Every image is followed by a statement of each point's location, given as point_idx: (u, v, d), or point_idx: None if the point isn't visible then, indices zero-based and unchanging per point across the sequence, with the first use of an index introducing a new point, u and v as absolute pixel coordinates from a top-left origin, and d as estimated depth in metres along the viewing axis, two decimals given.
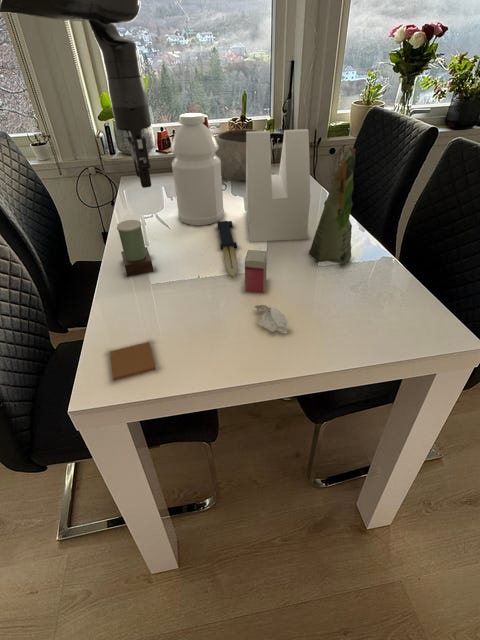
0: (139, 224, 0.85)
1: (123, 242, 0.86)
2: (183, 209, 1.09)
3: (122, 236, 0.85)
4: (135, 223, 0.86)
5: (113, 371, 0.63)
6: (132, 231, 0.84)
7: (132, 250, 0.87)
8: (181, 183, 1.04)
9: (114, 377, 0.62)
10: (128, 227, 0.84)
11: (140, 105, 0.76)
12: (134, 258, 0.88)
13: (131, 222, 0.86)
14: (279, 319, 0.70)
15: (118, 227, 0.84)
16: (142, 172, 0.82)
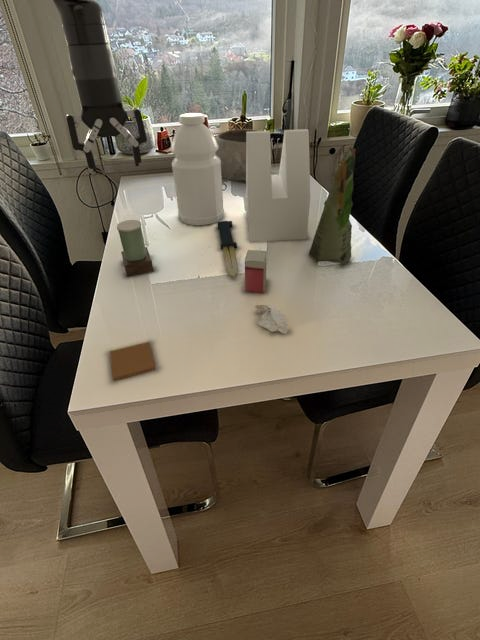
0: (139, 224, 0.85)
1: (123, 242, 0.86)
2: (183, 209, 1.09)
3: (122, 236, 0.85)
4: (135, 223, 0.86)
5: (113, 371, 0.63)
6: (132, 231, 0.84)
7: (132, 250, 0.87)
8: (181, 183, 1.04)
9: (114, 377, 0.62)
10: (128, 227, 0.84)
11: (76, 79, 0.66)
12: (134, 258, 0.88)
13: (131, 222, 0.86)
14: (279, 319, 0.70)
15: (118, 227, 0.84)
16: None
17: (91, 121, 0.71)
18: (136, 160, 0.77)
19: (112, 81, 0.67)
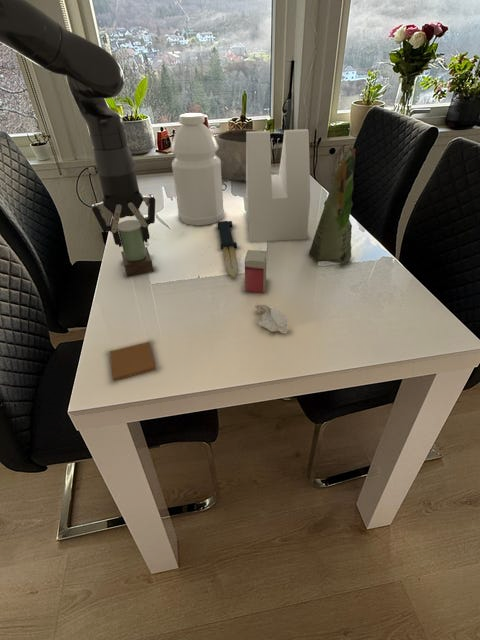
0: (139, 224, 0.85)
1: (123, 242, 0.86)
2: (183, 209, 1.09)
3: (122, 236, 0.85)
4: (135, 223, 0.86)
5: (113, 371, 0.63)
6: (132, 231, 0.84)
7: (132, 250, 0.87)
8: (181, 183, 1.04)
9: (114, 377, 0.62)
10: (128, 227, 0.84)
11: (100, 175, 0.76)
12: (134, 258, 0.88)
13: (131, 222, 0.86)
14: (279, 319, 0.70)
15: (118, 227, 0.84)
16: None
17: (112, 206, 0.81)
18: (145, 237, 0.87)
19: (131, 175, 0.77)
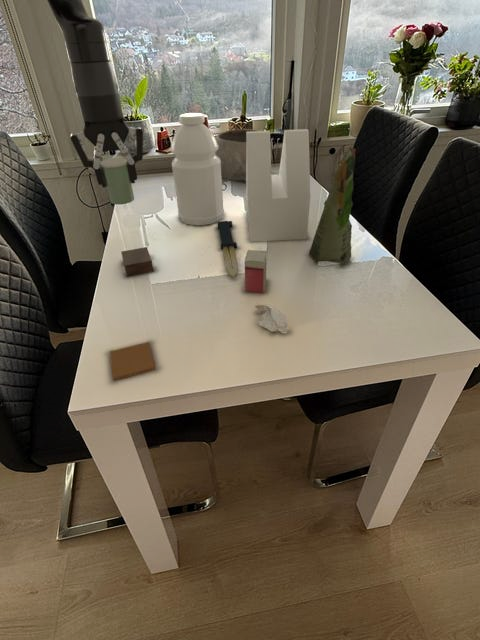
0: (125, 161, 0.76)
1: (107, 181, 0.77)
2: (183, 209, 1.09)
3: (106, 174, 0.76)
4: (121, 160, 0.77)
5: (113, 371, 0.63)
6: (117, 167, 0.75)
7: (117, 191, 0.77)
8: (181, 183, 1.04)
9: (114, 377, 0.62)
10: (113, 163, 0.75)
11: (79, 95, 0.67)
12: (119, 201, 0.79)
13: (116, 160, 0.77)
14: (279, 319, 0.70)
15: (101, 163, 0.75)
16: None
17: (93, 136, 0.72)
18: (132, 177, 0.78)
19: (114, 97, 0.68)
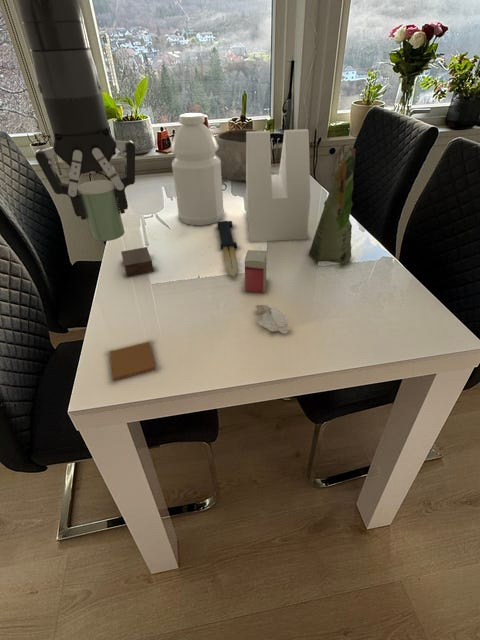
0: (111, 185, 0.57)
1: (88, 212, 0.57)
2: (183, 209, 1.09)
3: (86, 203, 0.56)
4: (106, 184, 0.58)
5: (113, 371, 0.63)
6: (100, 194, 0.56)
7: (101, 224, 0.58)
8: (181, 183, 1.04)
9: (114, 377, 0.62)
10: (94, 189, 0.56)
11: (45, 97, 0.47)
12: (104, 237, 0.59)
13: (100, 183, 0.58)
14: (279, 319, 0.70)
15: (79, 188, 0.56)
16: None
17: (67, 153, 0.52)
18: (121, 206, 0.59)
19: (95, 100, 0.49)
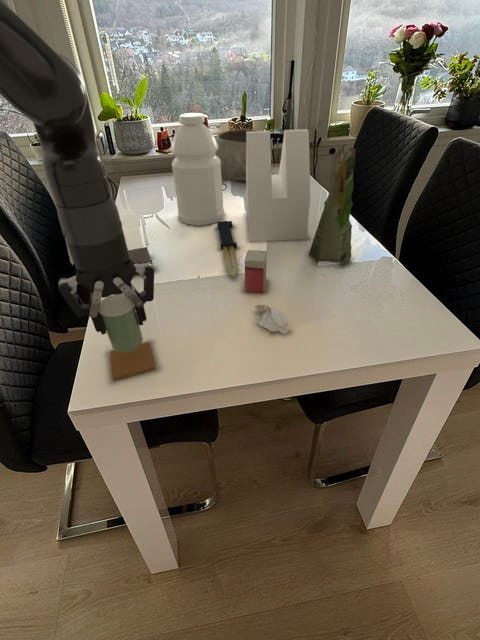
0: (131, 303, 0.58)
1: (108, 329, 0.59)
2: (183, 209, 1.09)
3: (106, 322, 0.58)
4: (125, 301, 0.59)
5: (113, 371, 0.63)
6: (120, 315, 0.57)
7: (121, 339, 0.59)
8: (181, 183, 1.04)
9: (114, 377, 0.62)
10: (115, 309, 0.57)
11: (69, 242, 0.49)
12: (124, 349, 0.61)
13: (119, 300, 0.59)
14: (279, 319, 0.70)
15: (100, 309, 0.57)
16: None
17: (89, 283, 0.54)
18: (140, 320, 0.60)
19: (116, 241, 0.50)
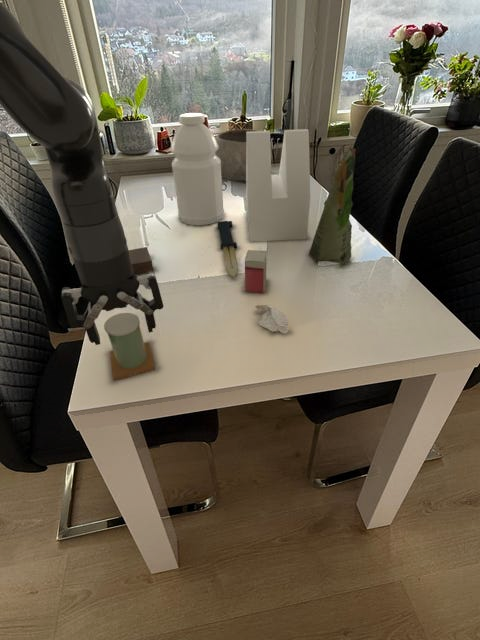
0: (136, 322, 0.61)
1: (114, 347, 0.61)
2: (183, 209, 1.09)
3: (113, 340, 0.60)
4: (131, 320, 0.61)
5: (113, 371, 0.63)
6: (126, 334, 0.59)
7: (126, 356, 0.62)
8: (181, 183, 1.04)
9: (114, 377, 0.62)
10: (121, 329, 0.59)
11: (75, 258, 0.50)
12: (129, 366, 0.63)
13: (125, 319, 0.61)
14: (280, 319, 0.70)
15: (107, 328, 0.60)
16: None
17: (93, 297, 0.55)
18: (149, 327, 0.61)
19: (121, 257, 0.51)
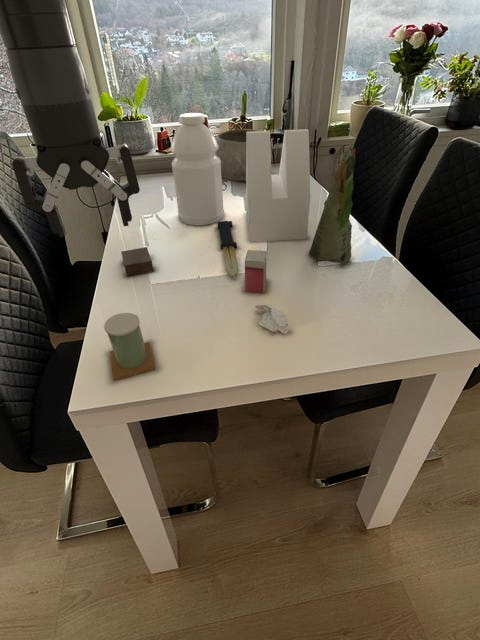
0: (136, 322, 0.61)
1: (114, 347, 0.61)
2: (183, 209, 1.09)
3: (113, 340, 0.60)
4: (131, 320, 0.61)
5: (113, 371, 0.63)
6: (126, 334, 0.59)
7: (126, 356, 0.62)
8: (181, 183, 1.04)
9: (114, 377, 0.62)
10: (121, 329, 0.59)
11: (24, 104, 0.41)
12: (129, 366, 0.63)
13: (125, 319, 0.61)
14: (280, 319, 0.70)
15: (107, 328, 0.60)
16: None
17: (52, 167, 0.45)
18: (124, 218, 0.52)
19: (82, 106, 0.42)
